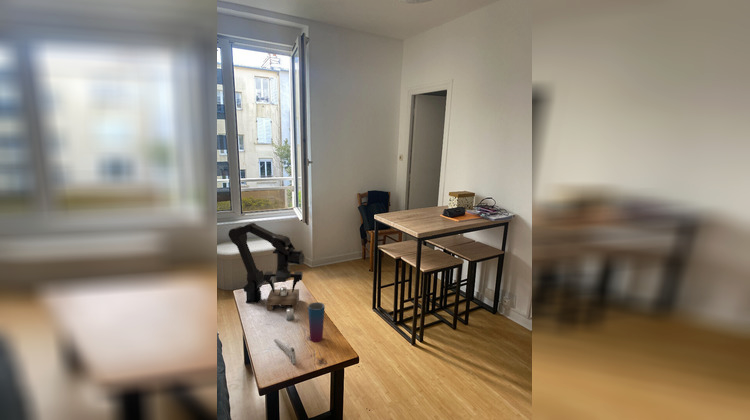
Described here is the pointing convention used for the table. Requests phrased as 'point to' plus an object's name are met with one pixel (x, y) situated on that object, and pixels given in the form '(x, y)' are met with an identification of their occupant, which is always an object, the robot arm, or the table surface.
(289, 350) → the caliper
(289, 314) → the short pin
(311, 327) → the cup
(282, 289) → the long pin
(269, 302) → the board
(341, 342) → the table surface
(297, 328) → the table surface
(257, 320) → the table surface
